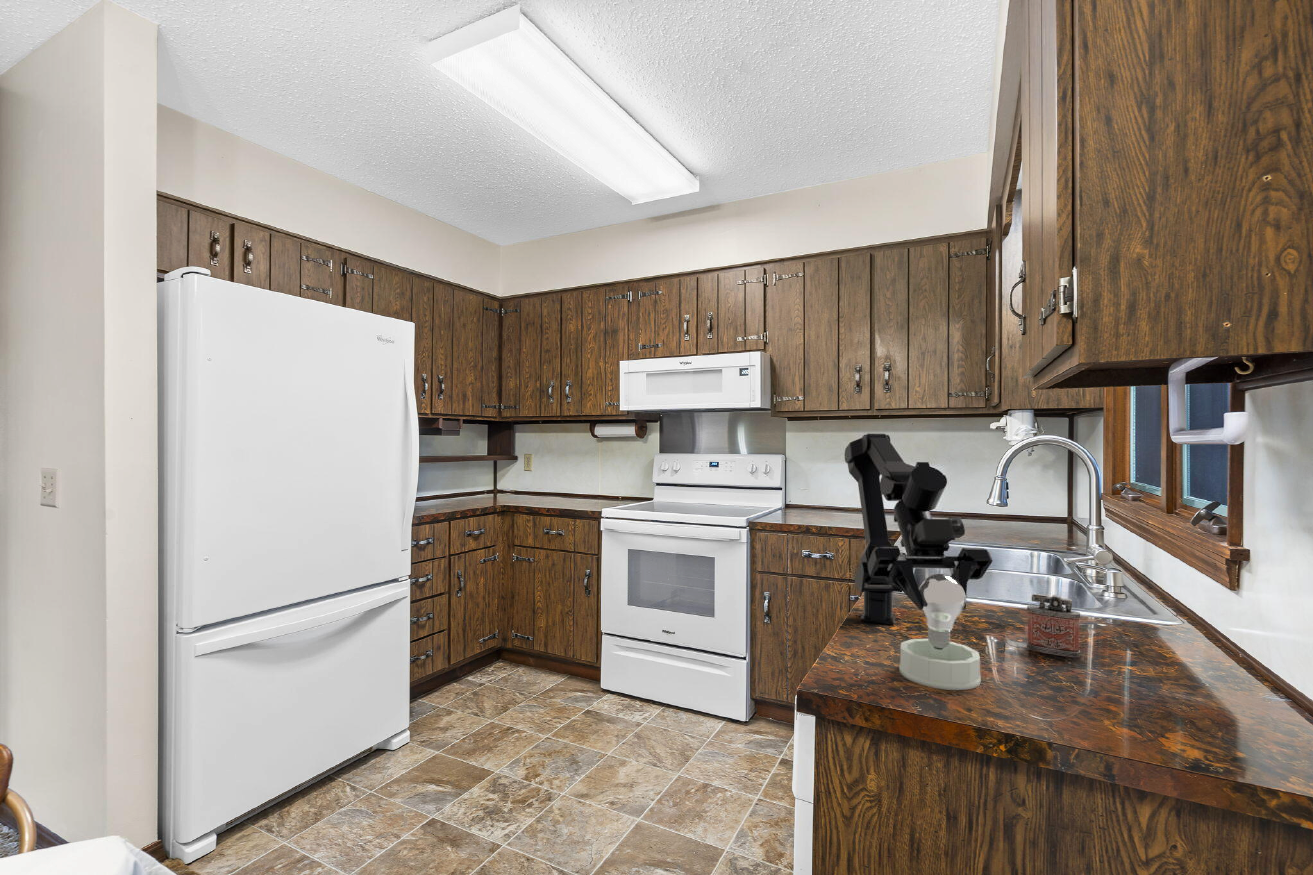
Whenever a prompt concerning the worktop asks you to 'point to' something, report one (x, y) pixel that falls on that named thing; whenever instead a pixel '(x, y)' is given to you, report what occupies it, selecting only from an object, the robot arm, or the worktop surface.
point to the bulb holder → (940, 665)
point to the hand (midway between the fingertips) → (942, 608)
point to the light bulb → (941, 607)
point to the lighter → (1053, 626)
